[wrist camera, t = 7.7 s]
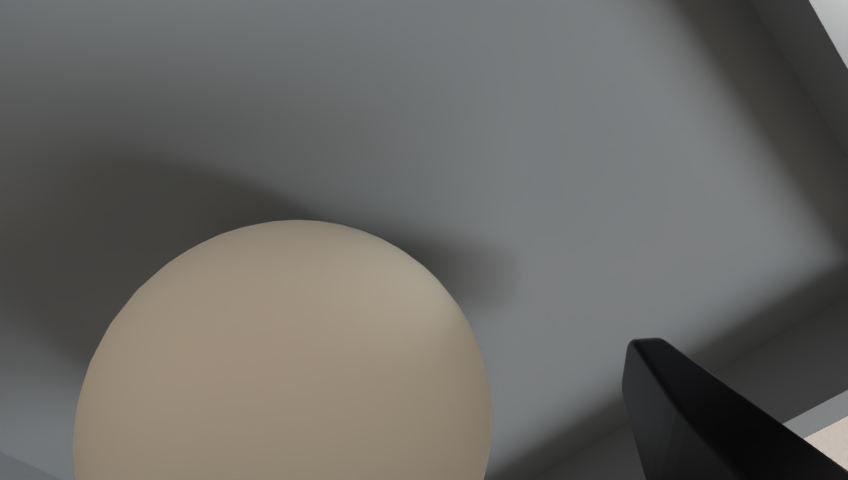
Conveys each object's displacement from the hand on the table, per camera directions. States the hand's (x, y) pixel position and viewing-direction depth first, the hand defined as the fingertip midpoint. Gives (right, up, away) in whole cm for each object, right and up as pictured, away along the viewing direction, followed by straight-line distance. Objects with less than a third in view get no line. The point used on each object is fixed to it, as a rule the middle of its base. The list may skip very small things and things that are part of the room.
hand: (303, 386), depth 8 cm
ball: (0, 0, 0) cm, 0 cm away
